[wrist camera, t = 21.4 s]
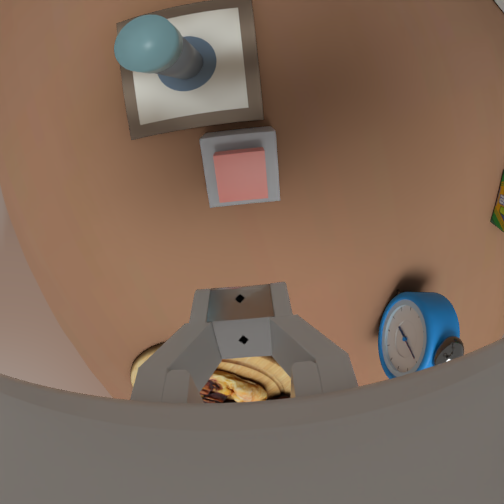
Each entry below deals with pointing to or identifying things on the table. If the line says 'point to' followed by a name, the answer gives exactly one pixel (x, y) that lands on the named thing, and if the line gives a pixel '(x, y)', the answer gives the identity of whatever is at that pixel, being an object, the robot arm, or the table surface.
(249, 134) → the button box
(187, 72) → the joystick
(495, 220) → the chalk box
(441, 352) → the alarm clock
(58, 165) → the table surface
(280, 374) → the wooden plate with food
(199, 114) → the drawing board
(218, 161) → the button
